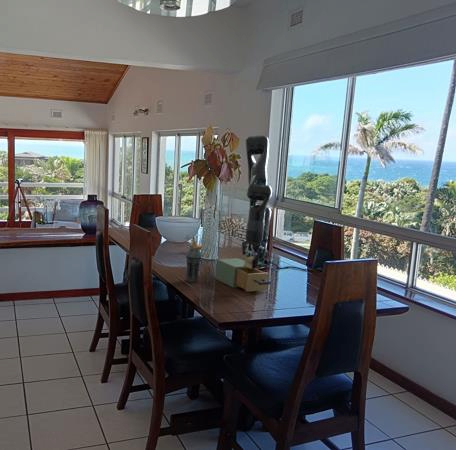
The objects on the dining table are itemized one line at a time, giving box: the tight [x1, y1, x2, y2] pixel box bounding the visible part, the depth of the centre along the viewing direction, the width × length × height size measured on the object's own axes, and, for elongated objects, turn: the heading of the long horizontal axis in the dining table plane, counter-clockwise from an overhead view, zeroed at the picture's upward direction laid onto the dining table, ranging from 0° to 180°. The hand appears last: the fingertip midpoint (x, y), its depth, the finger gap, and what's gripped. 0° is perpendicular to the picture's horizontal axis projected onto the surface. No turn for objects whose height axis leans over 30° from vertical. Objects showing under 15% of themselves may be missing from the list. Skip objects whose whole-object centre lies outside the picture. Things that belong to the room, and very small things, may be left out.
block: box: [244, 256, 259, 269], centre depth 206 cm, size 4×4×4 cm
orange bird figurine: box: [184, 234, 203, 251], centre depth 273 cm, size 7×18×11 cm, turn 84°
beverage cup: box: [185, 238, 203, 283], centre depth 212 cm, size 7×7×20 cm
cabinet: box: [214, 257, 257, 288], centre depth 216 cm, size 15×13×10 cm
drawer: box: [235, 268, 271, 293], centre depth 205 cm, size 18×11×8 cm, turn 26°
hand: (250, 266), depth 206 cm, fingers closed on block, 4 cm apart
